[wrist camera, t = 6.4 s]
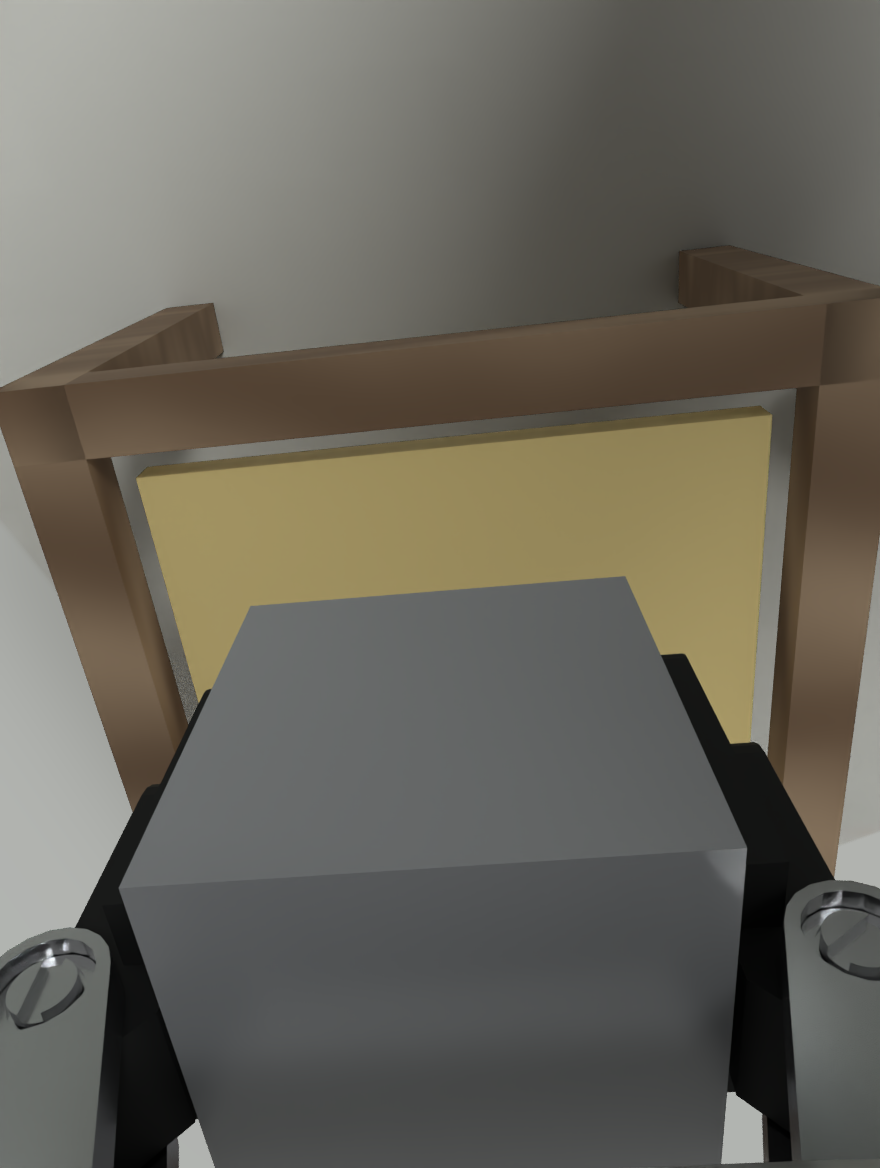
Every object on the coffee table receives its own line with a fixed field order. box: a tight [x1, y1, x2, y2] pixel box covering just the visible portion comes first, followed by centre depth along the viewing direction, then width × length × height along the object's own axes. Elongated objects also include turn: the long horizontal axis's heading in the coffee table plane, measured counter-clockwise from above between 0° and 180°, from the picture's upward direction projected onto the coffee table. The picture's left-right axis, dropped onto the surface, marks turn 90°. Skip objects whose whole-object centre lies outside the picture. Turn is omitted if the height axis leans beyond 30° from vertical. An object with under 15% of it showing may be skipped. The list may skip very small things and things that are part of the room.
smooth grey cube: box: [119, 576, 747, 1168], centre depth 10 cm, size 5×5×5 cm
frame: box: [0, 245, 880, 877], centre depth 26 cm, size 19×19×12 cm
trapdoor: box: [136, 406, 772, 744], centre depth 24 cm, size 21×14×4 cm, turn 6°
